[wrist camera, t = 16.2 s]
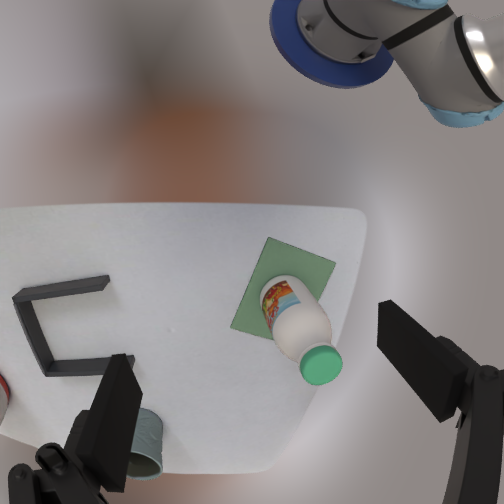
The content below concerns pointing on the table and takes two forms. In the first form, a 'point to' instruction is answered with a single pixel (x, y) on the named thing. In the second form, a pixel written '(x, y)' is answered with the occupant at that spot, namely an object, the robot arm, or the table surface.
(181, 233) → the table surface
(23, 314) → the dark grey u-shaped frame
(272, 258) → the mat
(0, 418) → the citrus juicer
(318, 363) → the milk bottle
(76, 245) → the table surface
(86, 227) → the table surface
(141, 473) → the grey-green cup
